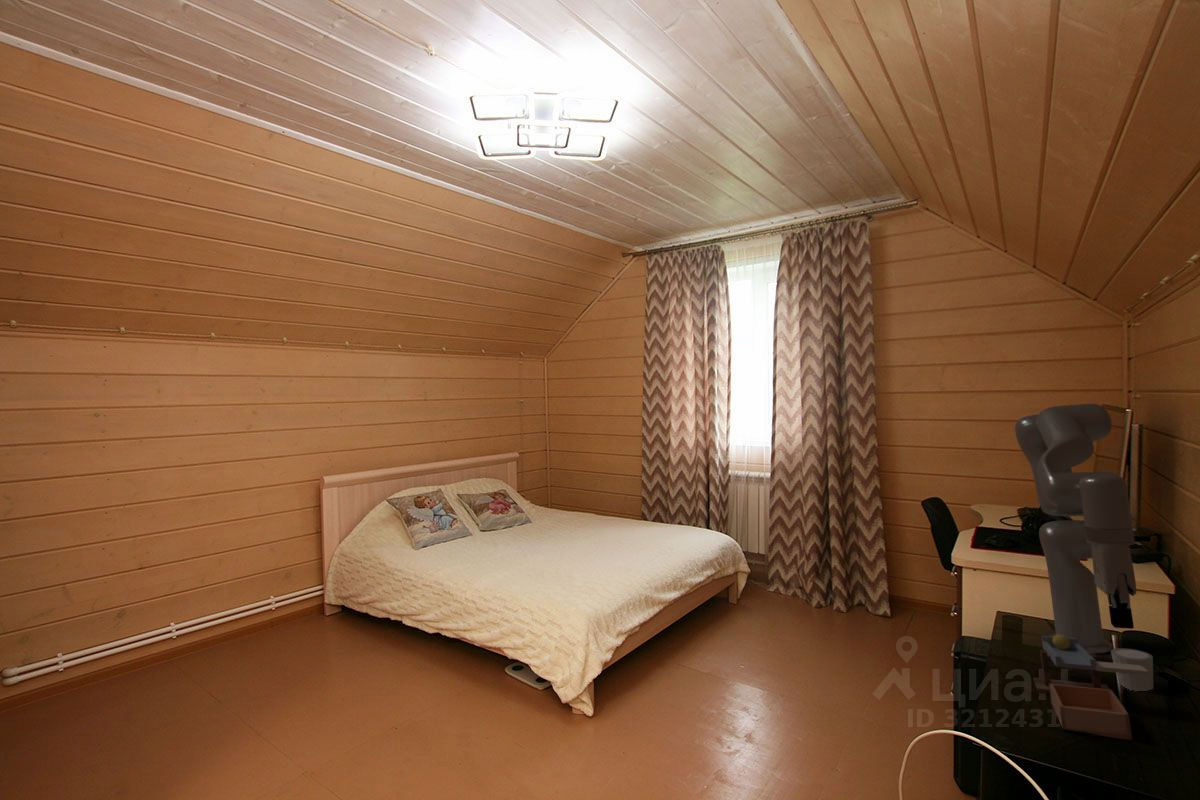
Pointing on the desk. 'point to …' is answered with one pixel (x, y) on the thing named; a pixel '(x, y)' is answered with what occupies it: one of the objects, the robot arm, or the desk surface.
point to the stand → (1043, 684)
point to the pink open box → (1090, 711)
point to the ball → (1061, 642)
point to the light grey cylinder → (1134, 658)
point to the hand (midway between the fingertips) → (1122, 626)
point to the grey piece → (1085, 659)
